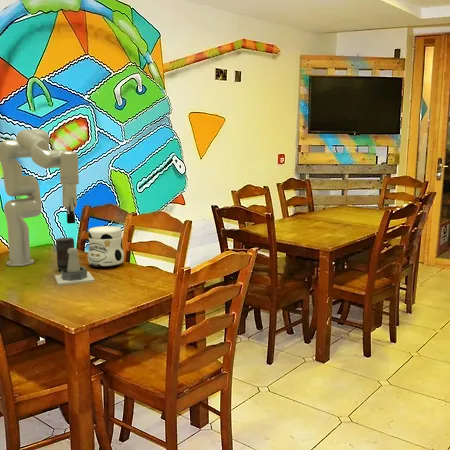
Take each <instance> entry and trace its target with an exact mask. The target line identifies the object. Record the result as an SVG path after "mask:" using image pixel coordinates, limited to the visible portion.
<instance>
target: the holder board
mask: <svg viewBox="0 0 450 450" xmlns="http://www.w3.org/2000/svg"><path fill="white" fill-rule="evenodd" d="M54 278H55V281H56V283H57V285H58V286H68V285H78V284H86V283H94V282H95V278H94V276H93V275H92V274H91V273H90V272H89V271H87V278H84V279H82V280H75V281H68V280H62V278H61V274H55V275H54Z"/></svg>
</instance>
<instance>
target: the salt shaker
mask: <svg viewBox="0 0 450 450" xmlns="http://www.w3.org/2000/svg"><path fill="white" fill-rule="evenodd" d="M78 253H79V250H78V248H76V247H74V248H69V249H68V254H69V261H68V268H67V272H78V271H80V267H81V266H80V263H79V258H78Z"/></svg>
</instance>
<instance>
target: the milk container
mask: <svg viewBox="0 0 450 450" xmlns="http://www.w3.org/2000/svg"><path fill="white" fill-rule="evenodd" d="M122 234H123V233H122V227H120V226H114V225H113V226H111V225H106V226H105V225H103V226H100V225H99V226H94V227H90V228H89V229H88V251H87V261H88V263H89V265H90V266H92V267H95V268H105V269H106V268H113V267H117V266H120V265H122V264H123V263H124V261H125V251H124V249H123V236H122Z"/></svg>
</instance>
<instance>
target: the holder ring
mask: <svg viewBox="0 0 450 450" xmlns="http://www.w3.org/2000/svg"><path fill="white" fill-rule="evenodd" d="M67 268H68V267H67ZM67 268H64V269H61V272H60V275H61V278H62V280H68V281H75V280H82V279H84V278H87V272H88V269H87V267H85V266H80V271H78V272H67Z"/></svg>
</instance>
